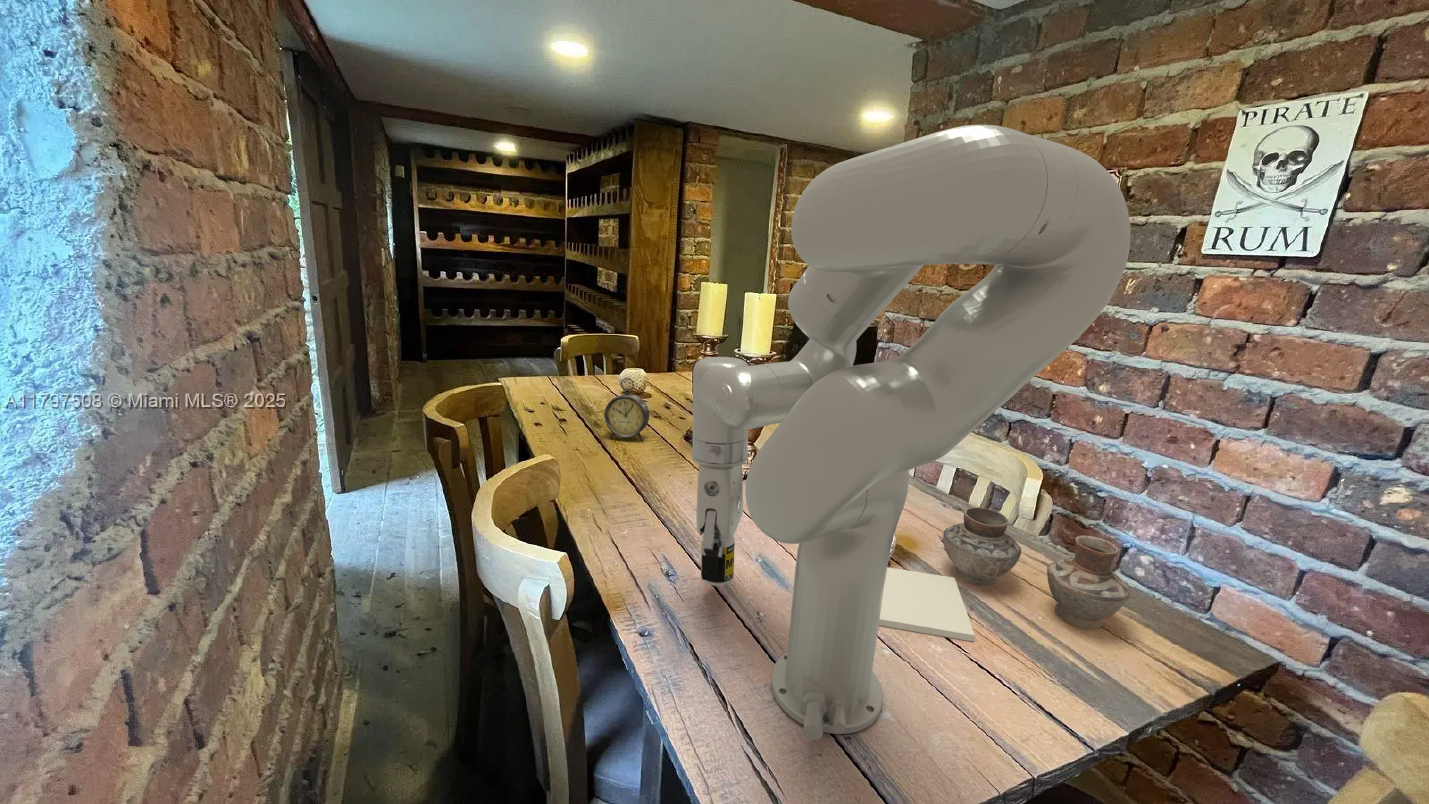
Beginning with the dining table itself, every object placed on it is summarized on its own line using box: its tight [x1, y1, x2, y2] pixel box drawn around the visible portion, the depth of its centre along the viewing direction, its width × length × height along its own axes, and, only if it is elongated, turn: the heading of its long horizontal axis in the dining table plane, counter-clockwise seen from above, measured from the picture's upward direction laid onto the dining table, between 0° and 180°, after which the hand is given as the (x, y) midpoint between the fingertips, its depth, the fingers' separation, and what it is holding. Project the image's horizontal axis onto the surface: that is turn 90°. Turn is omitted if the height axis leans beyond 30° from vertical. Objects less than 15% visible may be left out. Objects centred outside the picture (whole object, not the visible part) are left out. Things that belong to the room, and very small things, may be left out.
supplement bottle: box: [700, 529, 736, 587], centre depth 79 cm, size 5×5×8 cm
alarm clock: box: [604, 377, 650, 442], centre depth 144 cm, size 11×5×16 cm, turn 81°
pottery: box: [942, 506, 1131, 631], centre depth 84 cm, size 11×25×12 cm, turn 47°
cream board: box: [878, 566, 976, 643], centre depth 82 cm, size 14×14×1 cm
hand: (717, 568), depth 80 cm, fingers closed on supplement bottle, 4 cm apart
